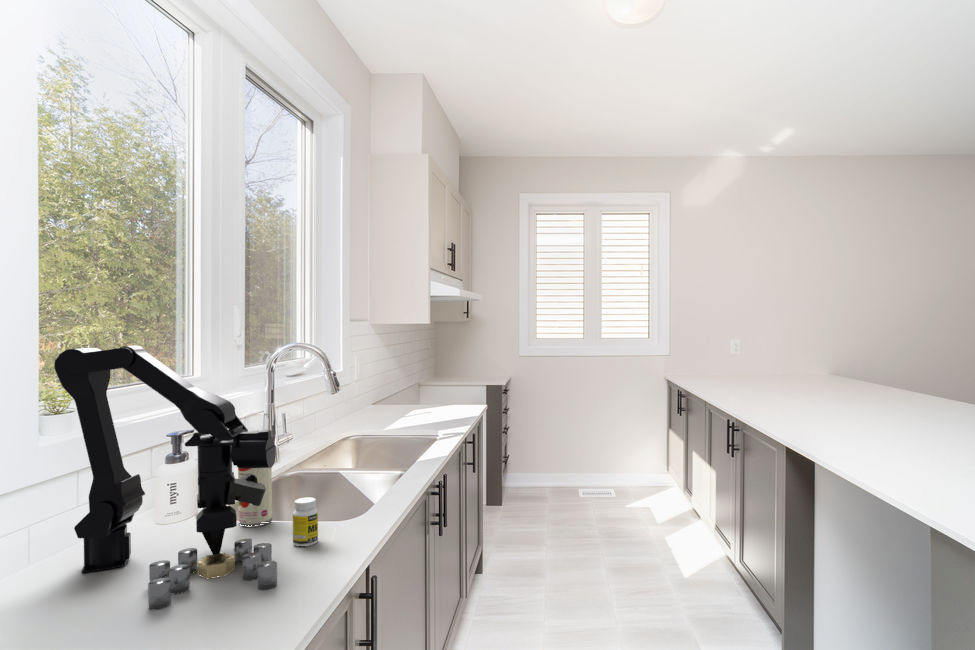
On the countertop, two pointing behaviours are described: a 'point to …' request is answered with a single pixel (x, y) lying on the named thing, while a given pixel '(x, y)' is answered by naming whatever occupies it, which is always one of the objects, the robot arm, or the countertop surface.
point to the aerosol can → (262, 513)
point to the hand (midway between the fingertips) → (216, 554)
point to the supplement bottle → (305, 522)
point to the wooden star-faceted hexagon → (216, 565)
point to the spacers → (179, 576)
